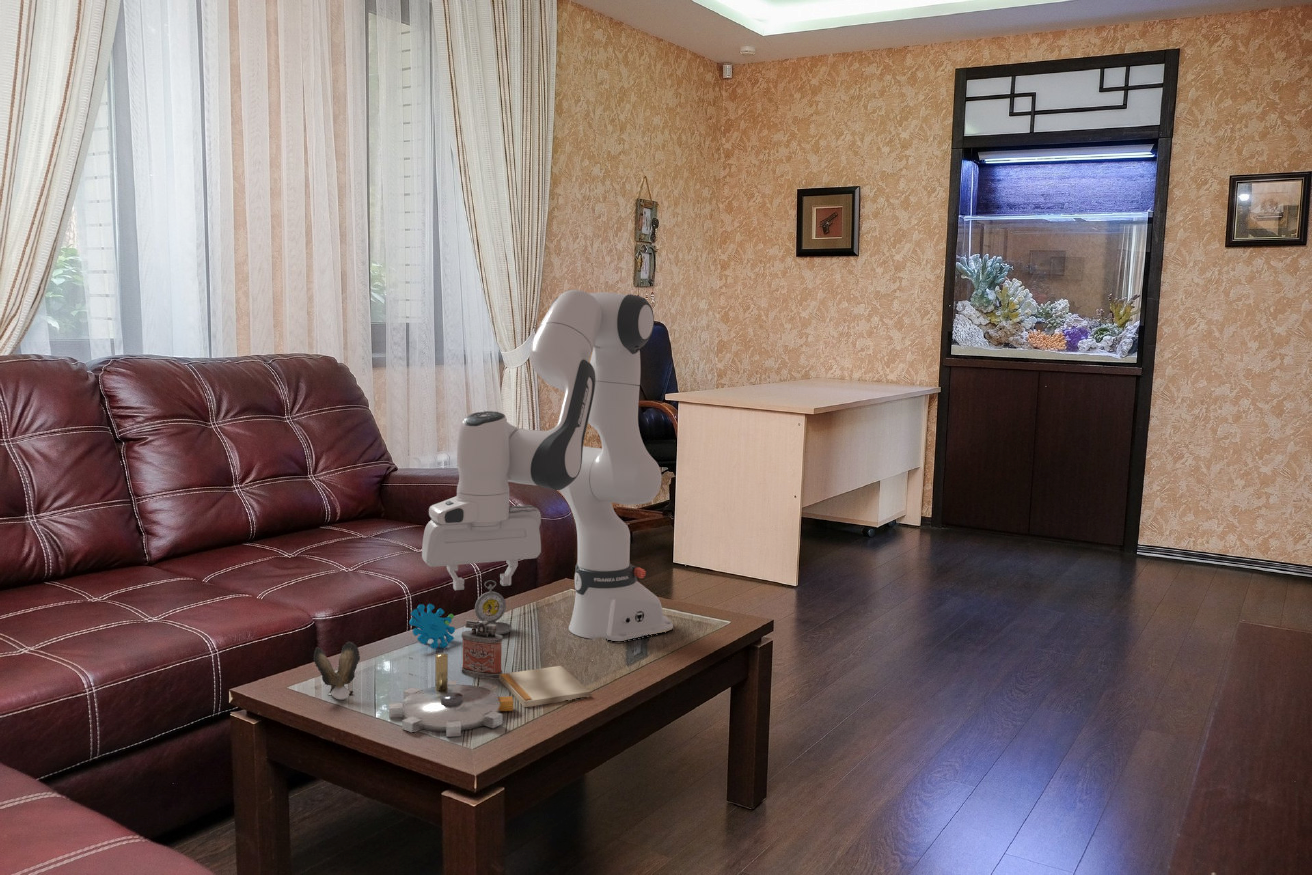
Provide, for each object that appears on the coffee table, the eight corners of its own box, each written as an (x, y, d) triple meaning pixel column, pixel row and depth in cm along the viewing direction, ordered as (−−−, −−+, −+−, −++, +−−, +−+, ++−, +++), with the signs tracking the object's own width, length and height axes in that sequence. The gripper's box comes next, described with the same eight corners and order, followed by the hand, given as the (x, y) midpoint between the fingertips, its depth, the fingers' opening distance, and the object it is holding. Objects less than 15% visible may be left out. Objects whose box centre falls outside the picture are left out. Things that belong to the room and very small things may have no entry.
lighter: (505, 674, 187) (506, 621, 186) (496, 680, 184) (497, 626, 183) (467, 667, 190) (467, 616, 188) (457, 673, 186) (458, 621, 185)
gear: (429, 651, 195) (404, 608, 198) (413, 666, 198) (388, 624, 201) (469, 636, 205) (444, 595, 207) (453, 651, 207) (428, 611, 210)
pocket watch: (498, 638, 207) (498, 590, 206) (465, 631, 211) (466, 584, 210) (522, 628, 214) (522, 582, 213) (490, 621, 218) (491, 576, 217)
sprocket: (491, 682, 181) (491, 641, 180) (529, 724, 164) (529, 679, 163) (378, 699, 172) (378, 656, 171) (405, 745, 155) (404, 697, 154)
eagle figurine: (344, 686, 179) (343, 637, 178) (369, 696, 174) (369, 646, 173) (306, 699, 173) (305, 648, 172) (331, 709, 168) (330, 657, 167)
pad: (560, 670, 189) (560, 664, 189) (590, 696, 177) (590, 690, 177) (499, 679, 184) (499, 673, 184) (524, 707, 172) (524, 700, 172)
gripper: (534, 501, 180) (533, 577, 182) (419, 507, 171) (419, 587, 172) (547, 507, 174) (545, 585, 176) (428, 514, 165) (428, 597, 167)
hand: (482, 586), depth 174 cm, fingers open, 7 cm apart
